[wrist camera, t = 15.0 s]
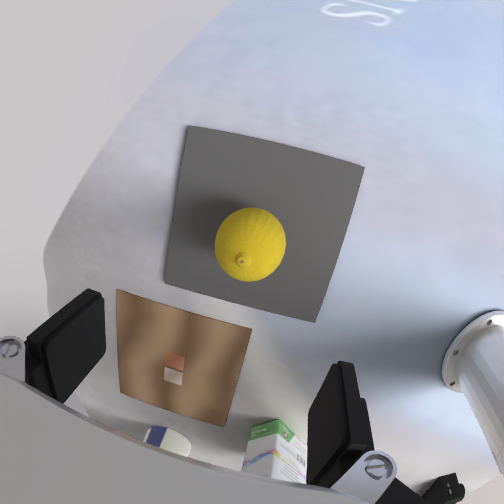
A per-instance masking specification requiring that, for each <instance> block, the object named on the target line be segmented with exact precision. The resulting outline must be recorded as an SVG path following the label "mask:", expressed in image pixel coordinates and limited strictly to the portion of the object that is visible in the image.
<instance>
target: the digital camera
mask: <svg viewBox="0 0 504 504" xmlns="http://www.w3.org/2000/svg"><path fill="white" fill-rule="evenodd" d="M464 495H465V488H464V486H463V484H459V483H458V479H457V476H456V473H452V474H449V475H445V476H440V477H439V478H438V479H437V480H436V481H435V483H434V484H433V485H432V486H431V487H430V488H429V490H428V491H427V492H426V493H425V494H424V495H423V496H422V498H423V499H424V500H426V501H427V502H429V503H430V504H456V503H457V502H459V501H461V500H462V499H463V498H464Z"/></svg>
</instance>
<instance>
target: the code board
mask: <svg viewBox="0 0 504 504" xmlns="http://www.w3.org/2000/svg"><path fill="white" fill-rule="evenodd" d="M251 331H252V329H249V328H245V327H242V326H238V325H234V324H230V323H227V322H223V321H219V320H216V319H212V318H208V317H205V316H201V315H198V314H194V313H191V312H188V311H184V310H181V309H177V308H174V307H171V306H168V305H164V304H161V303H158V302H155V301H152V300H148V299H145V298H142V297H139V296H136V295H133V294H130V293H127V292H124V291H121V290H118V289H117V345H118V366H119V381H120V393H122V394H125V395H127V396H130V397H132V398H135V399H138V400H140V401H143V402H146V403H148V404H151V405H154V406H157V407H159V408H162V409H165V410H168V411H171V412H174V413H177V414H180V415H184V416H187V417H190V418H193V419H197V420H200V421H204V422H207V423H211V424H215V425H218V426H222V427H224V426H225V423H226V419H227V416H228V412H229V409H230V406H231V402H232V399H233V395H234V392H235V388H236V385H237V381H238V378H239V374H240V371H241V367H242V364H243V360H244V356H245V353H246V349H247V346H248V342H249V338H250V335H251Z"/></svg>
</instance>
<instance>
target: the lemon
mask: <svg viewBox="0 0 504 504" xmlns="http://www.w3.org/2000/svg"><path fill="white" fill-rule="evenodd" d="M285 248H286V237H285V232H284V230H283V227H282V225H281V224H280V222H279V221H278V219H277V218H276V217H275V216H273V215H272V214H271V213H269V212H267V211H265V210H263V209H259V208H244V209H240V210H237V211H236V212H234V213H232V214H231V215H229V216H228V217H227V218H226V219H225V220H224V221H223V222H222V224H221V226H220V228H219V229H218V231H217V235H216V239H215V254H216V258H217V261H218V263H219V264H220V266H221V268H222V269H223V270H224V271H225V272H226V273H227V274H228V275H230V276H231V277H233V278H234V279H237V280H240V281H246V282H251V281H258V280H260V279H263V278H265V277H267V276H268V275H270V274H271V273H273V272H274V270H275V269H276V268H277V267H278V266H279V265H280V263H281V261H282V259H283V256H284V254H285Z"/></svg>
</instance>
